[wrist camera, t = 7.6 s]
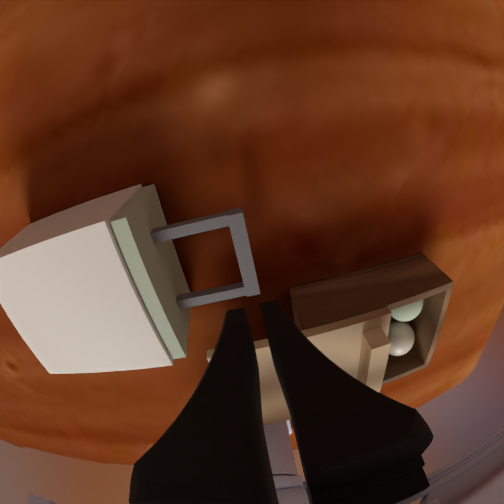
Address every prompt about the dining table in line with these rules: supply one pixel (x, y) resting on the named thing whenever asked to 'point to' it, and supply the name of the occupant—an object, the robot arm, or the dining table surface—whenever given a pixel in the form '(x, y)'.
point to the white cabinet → (79, 293)
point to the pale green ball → (407, 311)
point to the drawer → (175, 263)
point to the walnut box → (381, 304)
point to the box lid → (331, 356)
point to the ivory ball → (400, 338)
